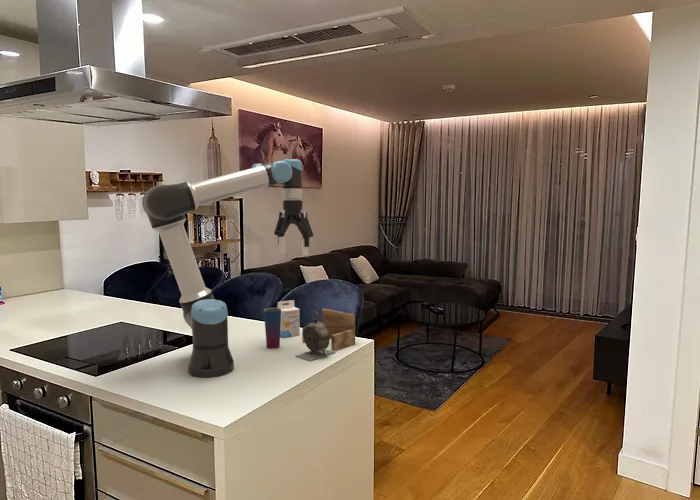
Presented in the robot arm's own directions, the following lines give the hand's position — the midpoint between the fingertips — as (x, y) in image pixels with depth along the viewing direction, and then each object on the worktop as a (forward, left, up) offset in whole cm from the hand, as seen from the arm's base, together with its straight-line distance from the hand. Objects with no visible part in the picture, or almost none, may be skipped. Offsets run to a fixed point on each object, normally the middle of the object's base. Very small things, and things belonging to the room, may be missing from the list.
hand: (293, 254), depth 192 cm
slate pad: (-3, -15, -37) cm, 40 cm away
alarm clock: (-3, -15, -36) cm, 40 cm away
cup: (-7, +5, -37) cm, 38 cm away
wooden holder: (+11, -8, -37) cm, 39 cm away
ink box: (+8, +13, -37) cm, 40 cm away
